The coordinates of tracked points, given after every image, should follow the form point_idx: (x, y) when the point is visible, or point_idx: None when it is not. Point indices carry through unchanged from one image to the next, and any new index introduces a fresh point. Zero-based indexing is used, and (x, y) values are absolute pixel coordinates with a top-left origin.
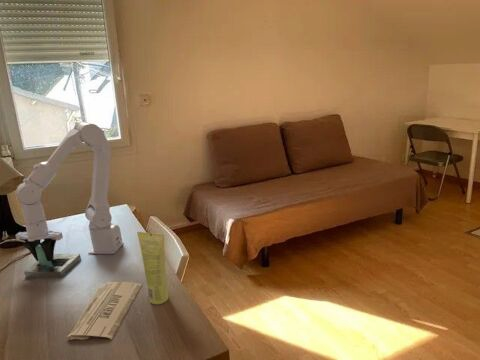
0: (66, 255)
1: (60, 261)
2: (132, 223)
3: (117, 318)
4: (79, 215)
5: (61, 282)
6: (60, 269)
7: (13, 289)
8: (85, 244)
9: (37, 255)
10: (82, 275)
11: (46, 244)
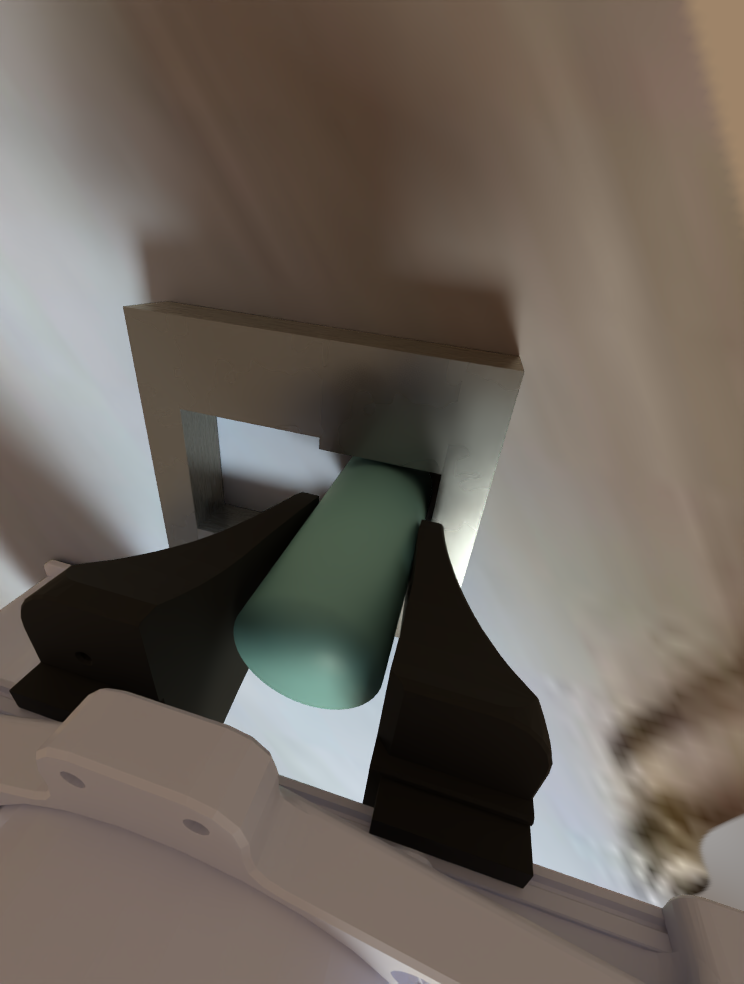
0: None
1: None
2: None
3: None
4: None
5: (115, 214)
6: (153, 357)
7: (563, 62)
8: (288, 704)
9: (380, 540)
10: (38, 321)
11: (49, 584)
